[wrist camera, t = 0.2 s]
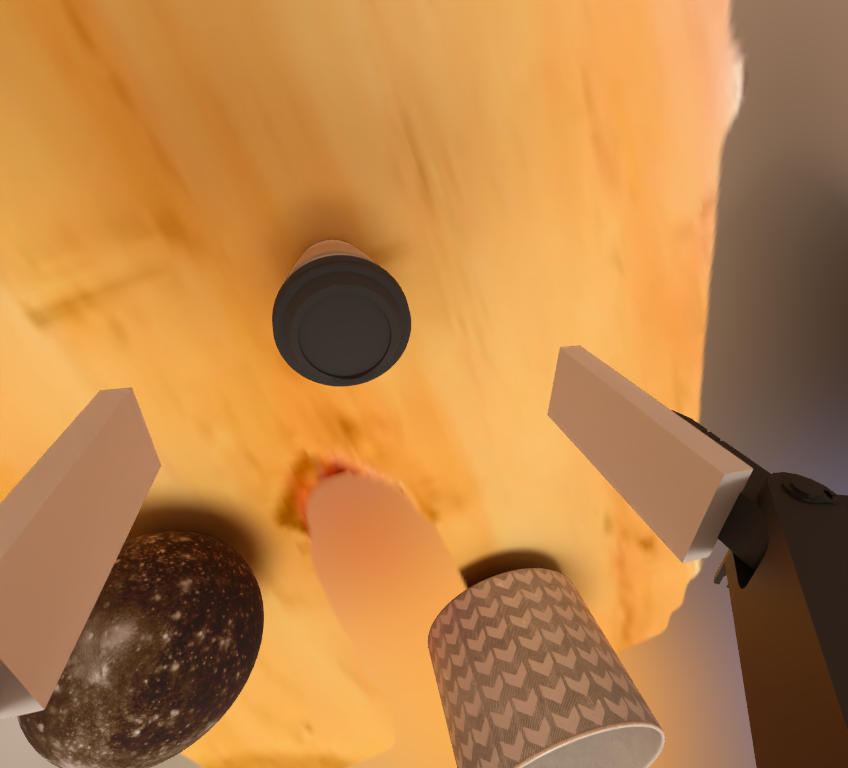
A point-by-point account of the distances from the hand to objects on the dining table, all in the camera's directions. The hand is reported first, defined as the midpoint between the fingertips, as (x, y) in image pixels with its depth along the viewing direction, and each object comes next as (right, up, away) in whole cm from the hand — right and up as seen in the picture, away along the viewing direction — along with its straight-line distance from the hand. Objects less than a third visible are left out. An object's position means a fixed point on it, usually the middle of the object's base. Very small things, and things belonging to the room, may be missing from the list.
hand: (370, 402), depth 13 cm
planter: (+13, -35, +56) cm, 68 cm away
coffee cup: (-7, +11, +25) cm, 28 cm away
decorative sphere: (-27, -20, +36) cm, 50 cm away
